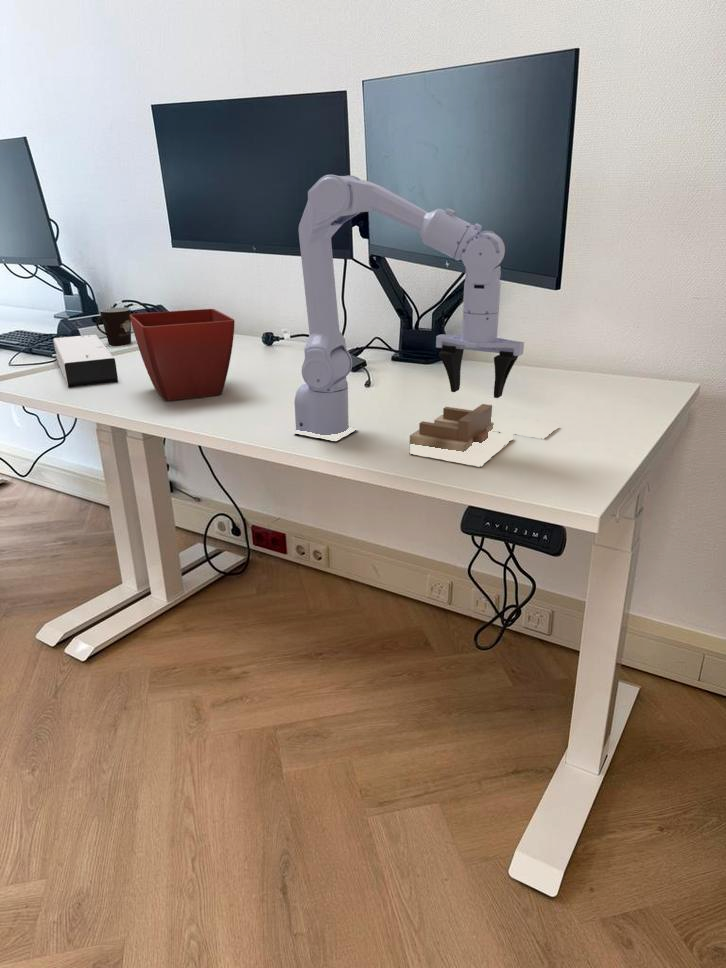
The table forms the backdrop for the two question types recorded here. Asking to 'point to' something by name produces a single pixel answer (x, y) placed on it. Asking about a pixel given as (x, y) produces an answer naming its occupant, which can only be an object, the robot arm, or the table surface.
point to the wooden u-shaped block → (448, 443)
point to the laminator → (84, 360)
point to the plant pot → (185, 351)
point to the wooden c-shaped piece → (459, 423)
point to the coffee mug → (116, 325)
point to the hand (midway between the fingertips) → (476, 393)
